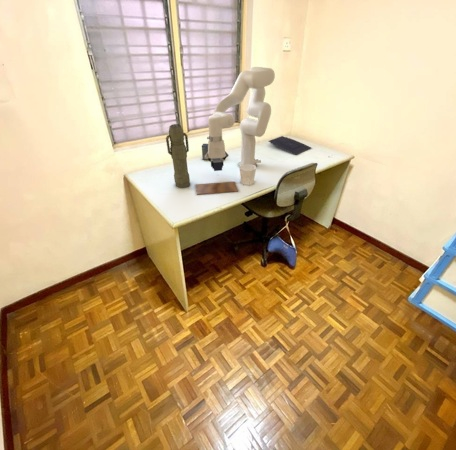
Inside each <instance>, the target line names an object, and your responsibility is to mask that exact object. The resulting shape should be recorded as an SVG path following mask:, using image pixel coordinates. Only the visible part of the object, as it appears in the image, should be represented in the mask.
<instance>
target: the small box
mask: <svg viewBox="0 0 456 450" xmlns="http://www.w3.org/2000/svg"><path fill="white" fill-rule="evenodd" d="M207 152H208V143H202V145H201V155H202V156H201V157H202V160H203V161H209V160H208V159H206V158H205V155H206V154H207ZM208 157H209V155H208Z"/></svg>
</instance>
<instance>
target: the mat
mask: <svg viewBox="0 0 456 450" xmlns="http://www.w3.org/2000/svg"><path fill="white" fill-rule="evenodd" d="M195 189H196V195H197V196H198V195H199V196H201V195H211V194H212V195H214V194H224V193H225V194H226V193H239V189H238V187H237V184H236V182H235V181H225V182H224V181H223V182H214V183H213V182H211V183H198V184H197V183H196V184H195Z"/></svg>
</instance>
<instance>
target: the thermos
mask: <svg viewBox="0 0 456 450" xmlns="http://www.w3.org/2000/svg"><path fill="white" fill-rule="evenodd" d="M165 141H166V148H167V153H168V155H170V157H171V160H172V165H173V171H174V172H173V178H174V179H173V180H174V183H175V187H176V188H178V189H186V188H188V187H189V186H191V180H190V179H191V178H190V173H189V169H188V161H187V158H188V152H190V147H189V137H188V135H187V133H185V132H184V130H183V127H182V125H181V124H178V123H173V124H171V125H169V127H168V134H167V135H166V137H165Z"/></svg>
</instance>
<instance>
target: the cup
mask: <svg viewBox="0 0 456 450" xmlns="http://www.w3.org/2000/svg"><path fill="white" fill-rule="evenodd" d="M256 172H257V165H256V166H254V165H251V164H244V165H241V166H239V177H240V184H242V185H243V186H250V185H251V186H252V185H254V182H255V176H256Z"/></svg>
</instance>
